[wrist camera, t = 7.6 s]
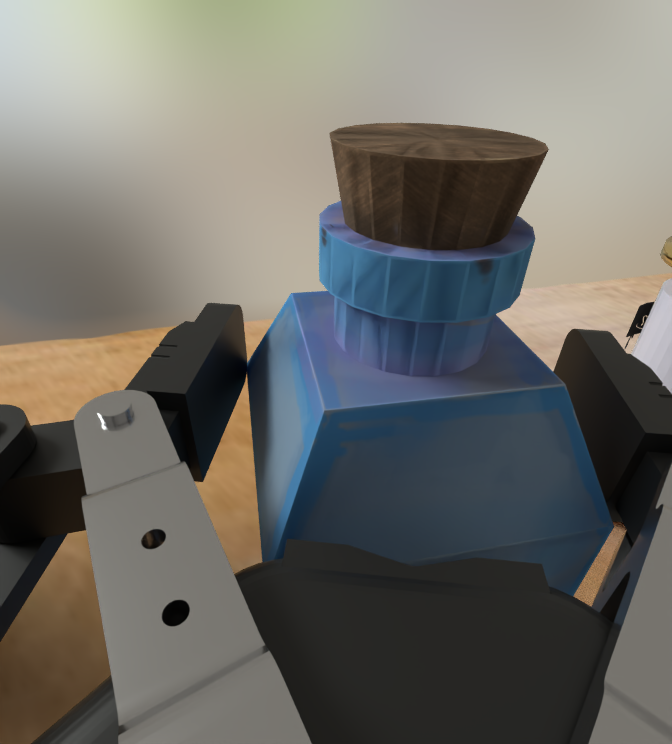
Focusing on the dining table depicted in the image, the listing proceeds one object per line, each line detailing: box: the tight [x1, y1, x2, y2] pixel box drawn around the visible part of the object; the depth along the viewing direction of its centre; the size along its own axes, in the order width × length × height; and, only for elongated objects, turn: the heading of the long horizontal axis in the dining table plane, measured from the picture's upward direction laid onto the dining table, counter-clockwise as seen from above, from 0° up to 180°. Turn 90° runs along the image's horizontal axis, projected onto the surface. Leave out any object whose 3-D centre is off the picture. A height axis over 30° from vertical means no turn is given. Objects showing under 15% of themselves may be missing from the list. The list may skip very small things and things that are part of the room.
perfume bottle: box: [247, 123, 614, 596], centre depth 10 cm, size 6×6×12 cm
